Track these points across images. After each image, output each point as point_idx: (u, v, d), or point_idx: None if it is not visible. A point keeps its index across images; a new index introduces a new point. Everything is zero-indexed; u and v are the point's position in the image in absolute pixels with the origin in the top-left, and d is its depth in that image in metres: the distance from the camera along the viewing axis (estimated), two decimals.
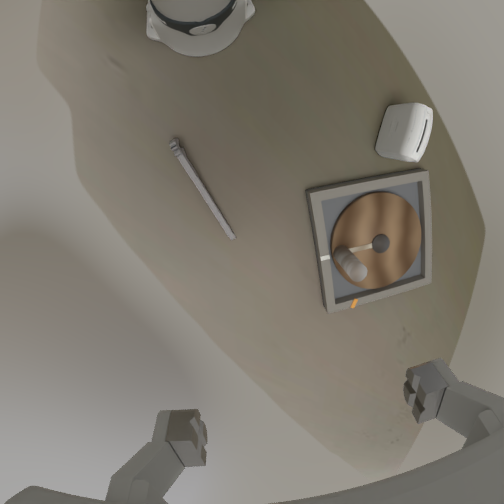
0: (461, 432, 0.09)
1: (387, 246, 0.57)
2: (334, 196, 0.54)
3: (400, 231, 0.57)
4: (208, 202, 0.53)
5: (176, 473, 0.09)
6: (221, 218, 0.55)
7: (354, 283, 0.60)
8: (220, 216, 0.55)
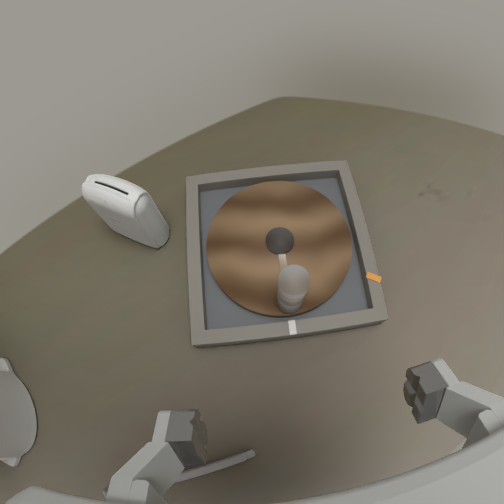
0: (461, 432, 0.09)
1: (284, 230, 0.42)
2: (201, 310, 0.39)
3: (265, 212, 0.44)
4: (189, 476, 0.31)
5: (176, 473, 0.09)
6: (216, 465, 0.33)
7: (341, 279, 0.40)
8: (213, 465, 0.32)
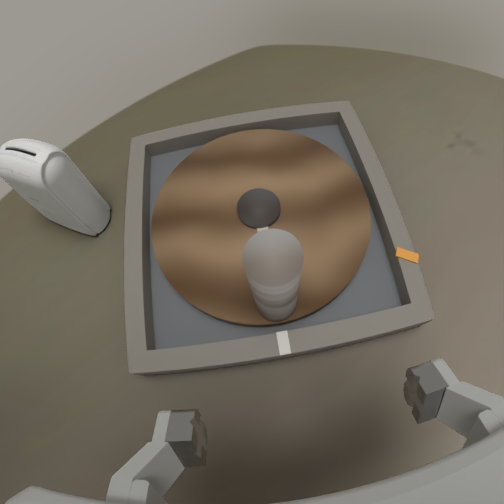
0: (461, 432, 0.09)
1: (265, 192, 0.27)
2: (141, 319, 0.24)
3: (237, 170, 0.29)
4: None
5: (176, 473, 0.09)
6: None
7: (357, 260, 0.25)
8: None
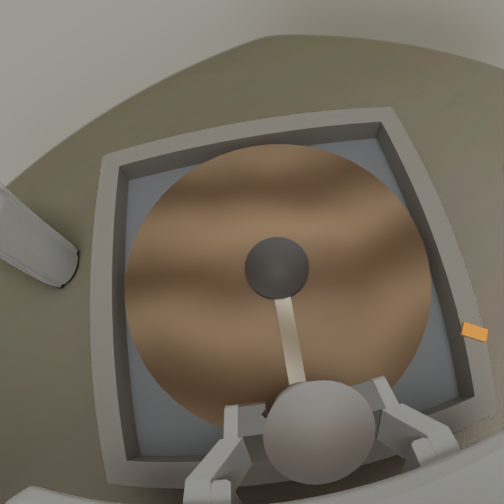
0: (402, 456, 0.09)
1: (286, 243, 0.19)
2: (116, 421, 0.16)
3: (245, 206, 0.21)
4: None
5: (245, 470, 0.09)
6: None
7: (414, 344, 0.16)
8: None
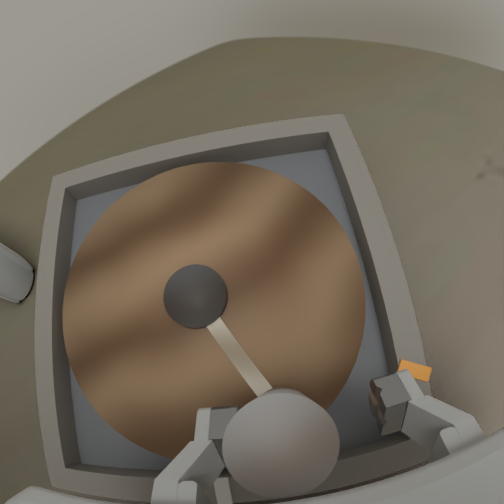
0: (426, 447, 0.09)
1: (193, 269, 0.18)
2: (55, 432, 0.15)
3: (143, 252, 0.20)
4: None
5: (217, 472, 0.09)
6: None
7: (359, 304, 0.17)
8: None
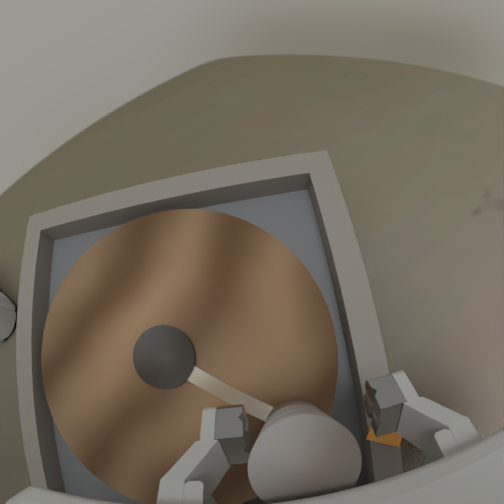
0: (422, 448, 0.09)
1: (150, 333, 0.17)
2: (41, 471, 0.14)
3: (98, 336, 0.18)
4: None
5: (222, 472, 0.09)
6: None
7: (316, 296, 0.18)
8: None
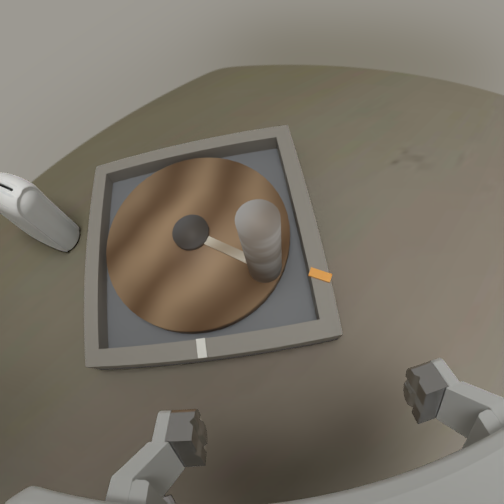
0: (461, 432, 0.09)
1: (183, 219, 0.32)
2: (95, 324, 0.29)
3: (149, 227, 0.32)
4: None
5: (176, 473, 0.09)
6: None
7: (277, 199, 0.32)
8: None
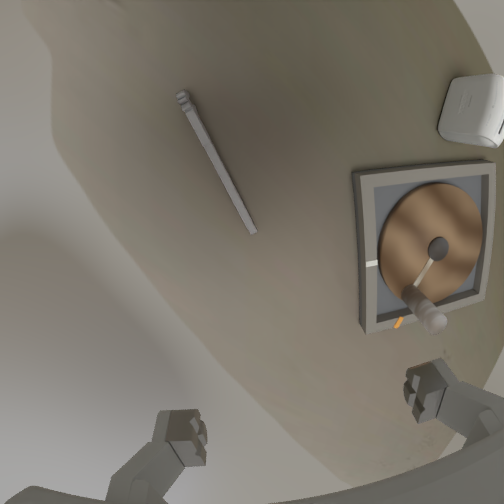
0: (461, 432, 0.09)
1: (446, 244, 0.41)
2: (390, 183, 0.38)
3: (447, 218, 0.41)
4: (224, 180, 0.38)
5: (176, 473, 0.09)
6: (240, 203, 0.40)
7: (443, 297, 0.45)
8: (239, 200, 0.40)
